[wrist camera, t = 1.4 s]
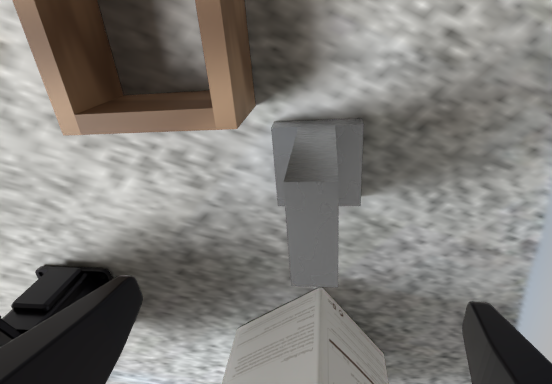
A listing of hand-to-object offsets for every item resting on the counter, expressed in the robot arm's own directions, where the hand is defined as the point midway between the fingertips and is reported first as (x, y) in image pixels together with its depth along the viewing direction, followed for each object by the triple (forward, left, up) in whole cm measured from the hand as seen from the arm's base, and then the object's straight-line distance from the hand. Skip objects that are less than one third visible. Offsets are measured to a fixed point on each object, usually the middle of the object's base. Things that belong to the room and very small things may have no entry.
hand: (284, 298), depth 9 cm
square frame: (+7, +7, -13) cm, 16 cm away
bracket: (-1, -1, -13) cm, 13 cm away
